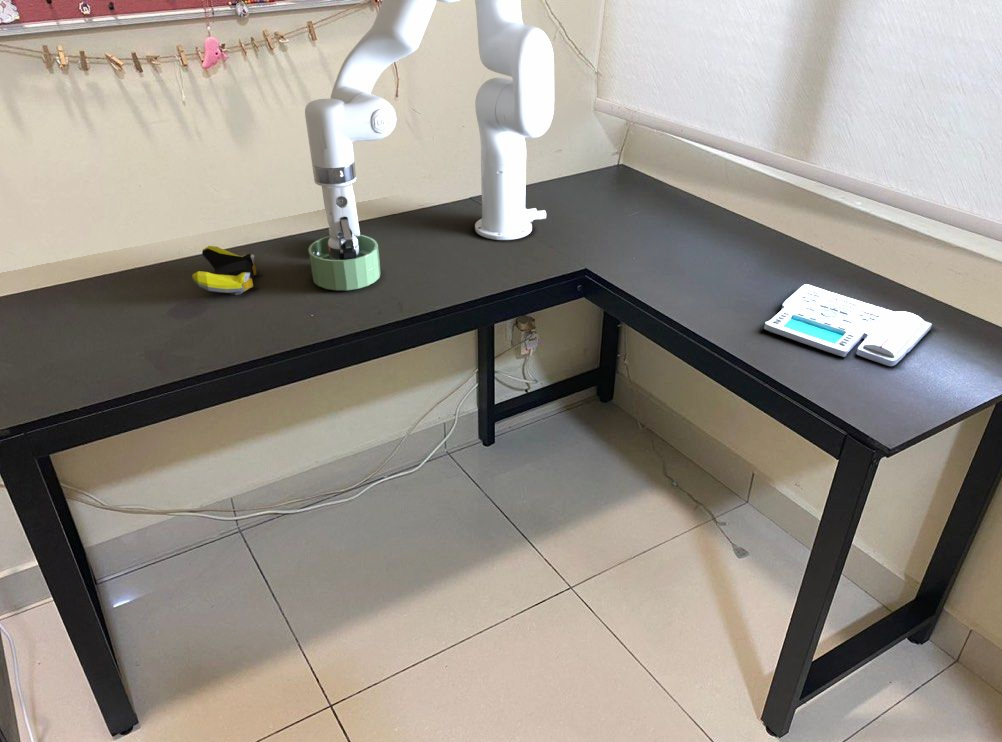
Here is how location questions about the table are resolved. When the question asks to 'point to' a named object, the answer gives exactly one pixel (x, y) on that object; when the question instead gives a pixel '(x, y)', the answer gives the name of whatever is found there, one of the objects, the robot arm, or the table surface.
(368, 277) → the green bowl
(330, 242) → the pill bottle
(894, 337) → the office telephone
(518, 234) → the robot arm
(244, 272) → the gaming controller
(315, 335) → the table surface
